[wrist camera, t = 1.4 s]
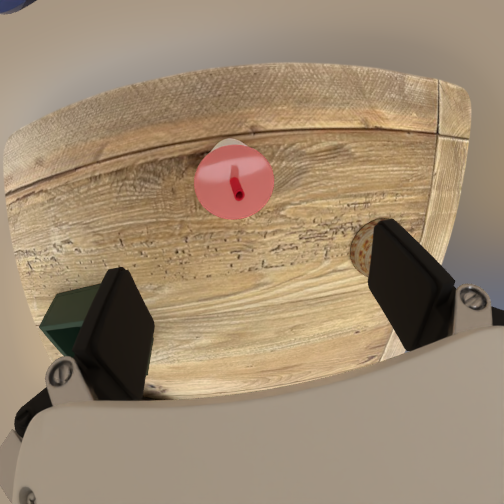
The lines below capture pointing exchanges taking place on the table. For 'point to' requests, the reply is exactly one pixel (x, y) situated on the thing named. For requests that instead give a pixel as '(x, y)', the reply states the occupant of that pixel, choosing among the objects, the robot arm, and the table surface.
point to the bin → (69, 318)
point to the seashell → (363, 248)
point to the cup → (233, 180)
